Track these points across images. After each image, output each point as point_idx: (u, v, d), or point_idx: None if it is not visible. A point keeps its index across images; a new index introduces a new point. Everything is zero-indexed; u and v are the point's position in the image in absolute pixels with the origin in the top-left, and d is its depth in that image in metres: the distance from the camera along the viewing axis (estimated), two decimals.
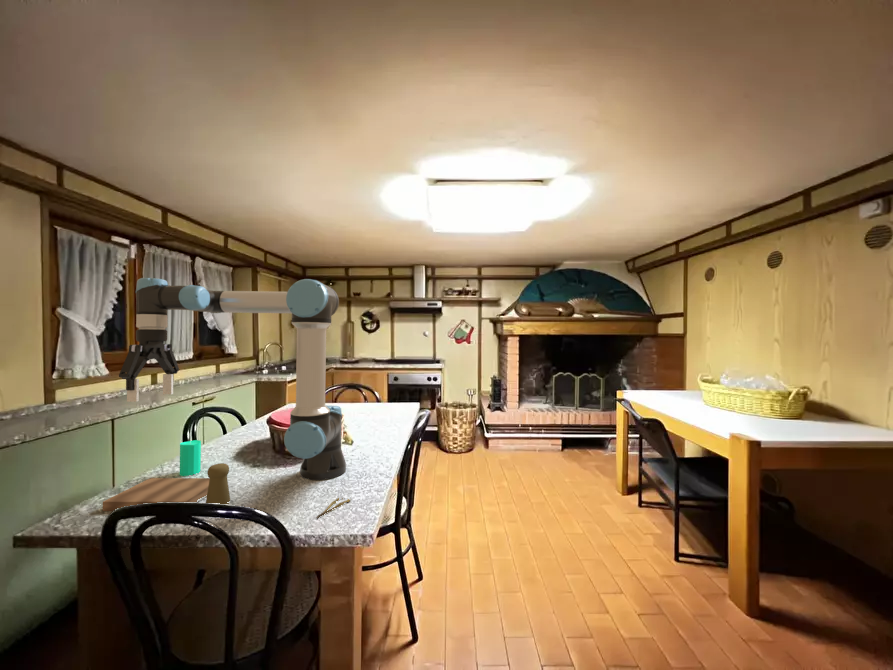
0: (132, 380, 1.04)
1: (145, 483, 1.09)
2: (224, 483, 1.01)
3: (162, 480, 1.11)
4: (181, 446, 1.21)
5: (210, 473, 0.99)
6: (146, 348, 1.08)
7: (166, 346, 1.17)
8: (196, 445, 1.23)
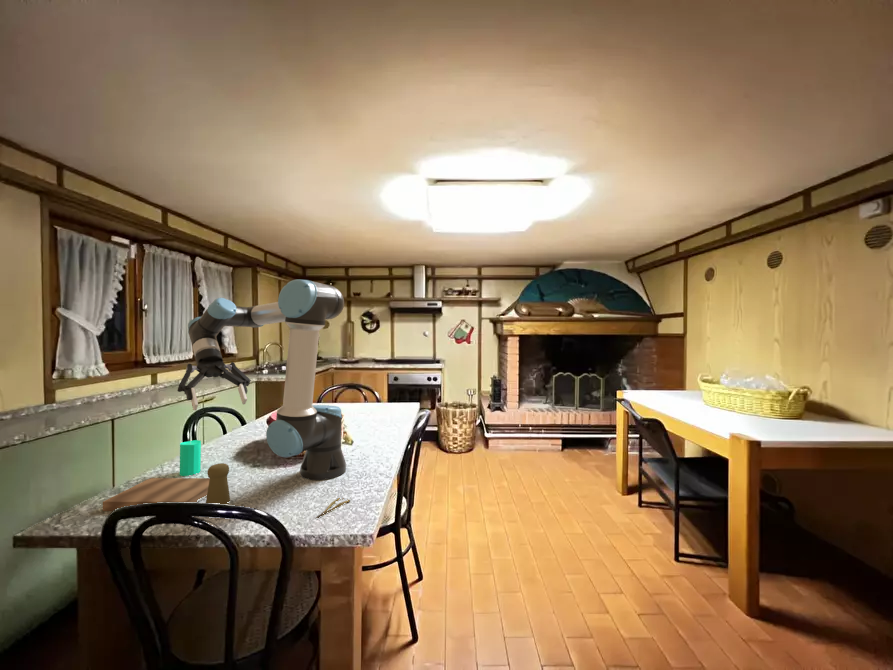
0: (188, 390, 1.10)
1: (145, 483, 1.09)
2: (224, 483, 1.01)
3: (162, 480, 1.11)
4: (181, 446, 1.21)
5: (210, 473, 0.99)
6: (200, 366, 1.18)
7: (229, 365, 1.25)
8: (196, 445, 1.23)
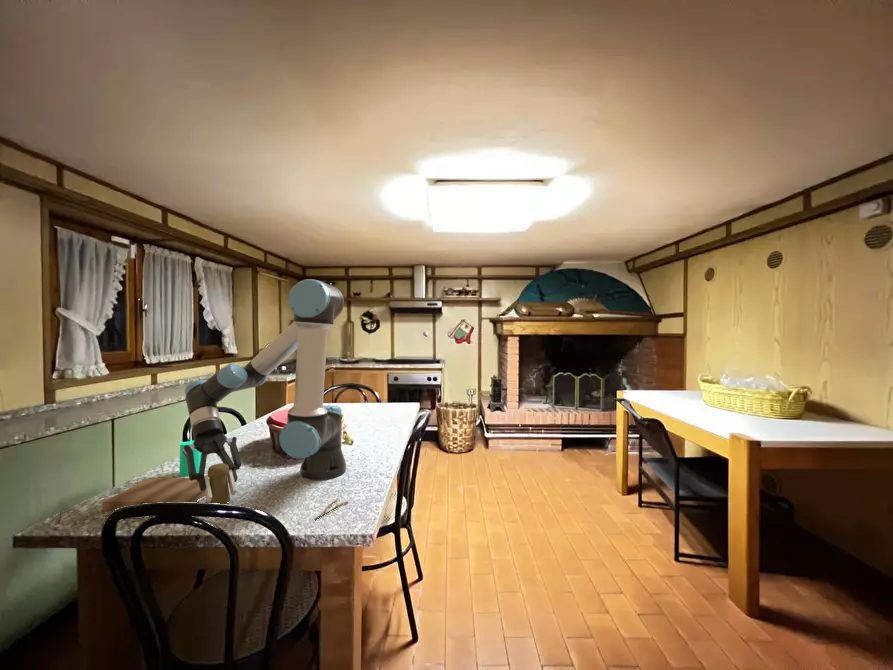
0: (201, 478, 0.99)
1: (145, 483, 1.09)
2: (224, 483, 1.01)
3: (162, 480, 1.11)
4: (181, 446, 1.21)
5: (210, 473, 0.99)
6: (198, 442, 1.04)
7: (230, 439, 1.11)
8: None
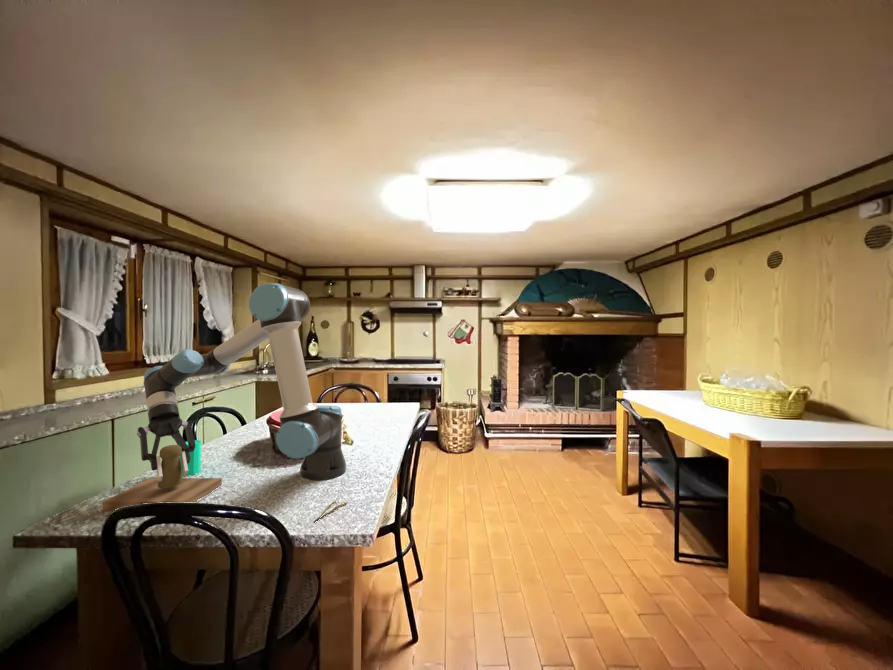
0: (153, 458, 1.02)
1: (145, 483, 1.09)
2: (176, 464, 1.05)
3: None
4: None
5: (162, 454, 1.03)
6: (152, 425, 1.08)
7: (186, 423, 1.14)
8: (196, 445, 1.23)
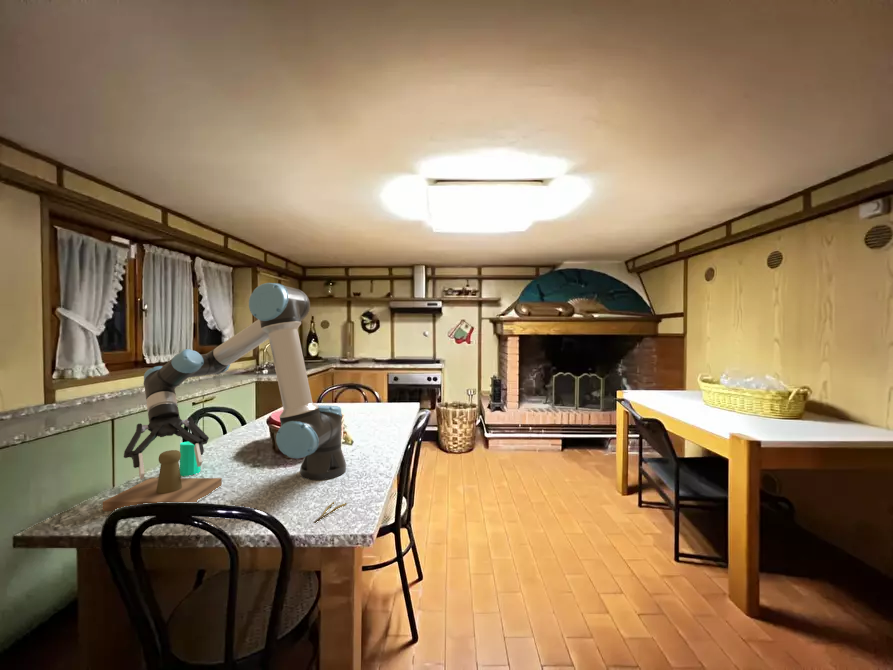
0: (135, 456, 1.00)
1: (145, 483, 1.09)
2: (175, 469, 1.04)
3: None
4: (181, 446, 1.21)
5: (161, 459, 1.02)
6: (151, 425, 1.08)
7: (186, 420, 1.15)
8: None
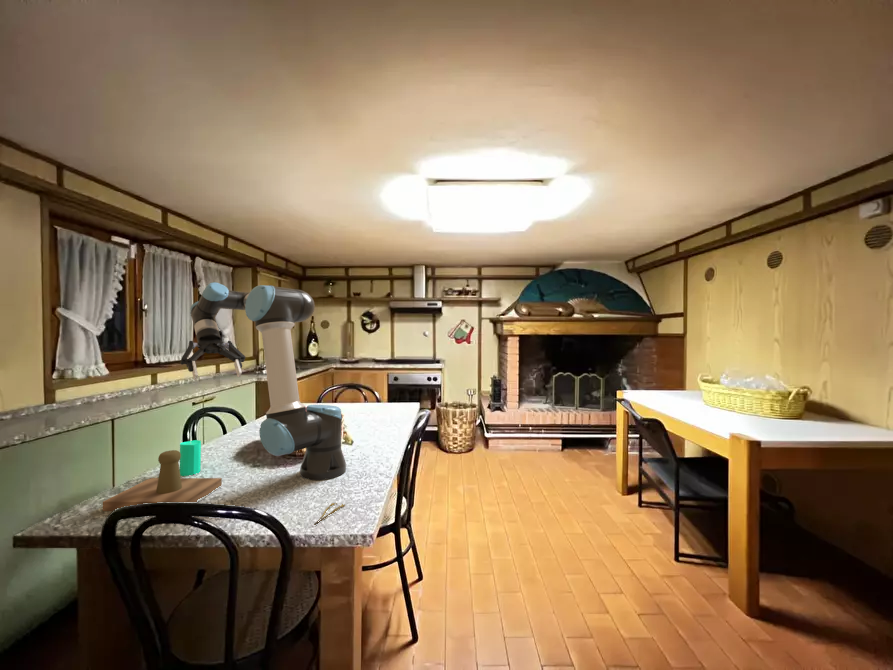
0: (189, 362, 1.25)
1: (145, 483, 1.09)
2: (175, 469, 1.04)
3: None
4: (181, 446, 1.21)
5: (161, 459, 1.02)
6: (200, 343, 1.33)
7: (226, 343, 1.40)
8: (196, 445, 1.23)
